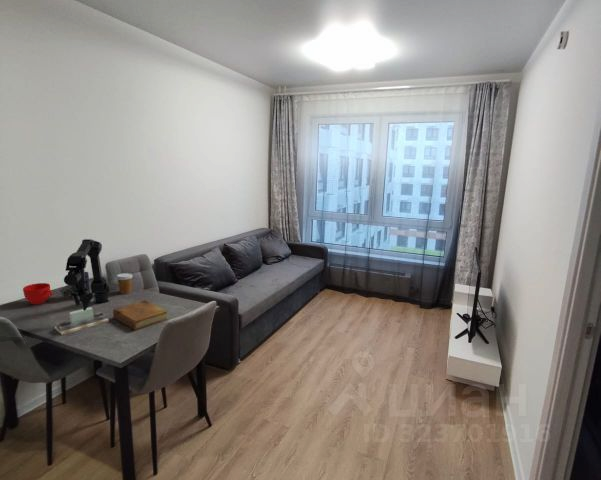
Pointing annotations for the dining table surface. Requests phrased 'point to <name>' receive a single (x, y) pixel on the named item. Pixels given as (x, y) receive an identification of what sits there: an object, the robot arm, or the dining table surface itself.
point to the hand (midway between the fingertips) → (81, 307)
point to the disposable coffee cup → (124, 282)
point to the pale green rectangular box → (81, 315)
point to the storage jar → (87, 281)
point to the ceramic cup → (37, 293)
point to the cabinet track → (81, 323)
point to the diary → (140, 315)
